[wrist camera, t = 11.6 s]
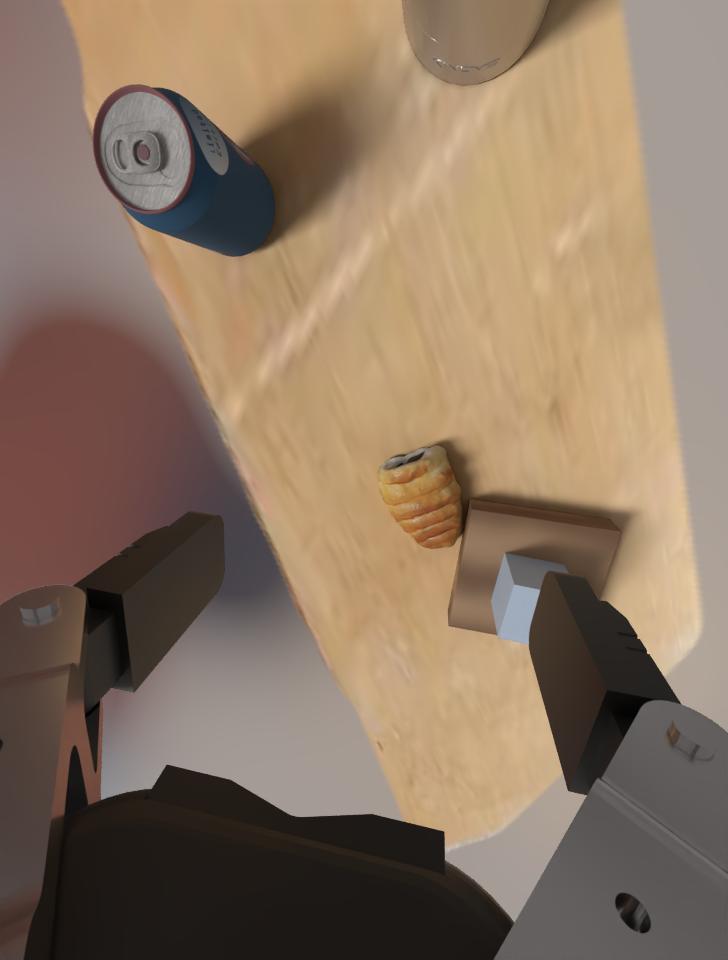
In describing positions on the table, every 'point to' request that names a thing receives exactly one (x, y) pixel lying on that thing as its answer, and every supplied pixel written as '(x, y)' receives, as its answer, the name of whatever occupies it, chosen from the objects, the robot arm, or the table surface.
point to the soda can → (181, 171)
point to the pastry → (423, 496)
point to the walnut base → (523, 553)
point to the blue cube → (518, 594)
